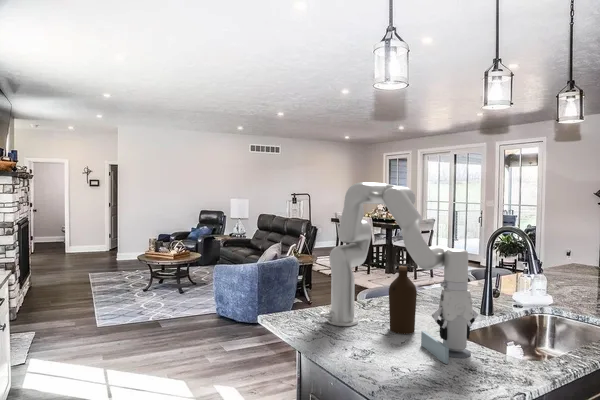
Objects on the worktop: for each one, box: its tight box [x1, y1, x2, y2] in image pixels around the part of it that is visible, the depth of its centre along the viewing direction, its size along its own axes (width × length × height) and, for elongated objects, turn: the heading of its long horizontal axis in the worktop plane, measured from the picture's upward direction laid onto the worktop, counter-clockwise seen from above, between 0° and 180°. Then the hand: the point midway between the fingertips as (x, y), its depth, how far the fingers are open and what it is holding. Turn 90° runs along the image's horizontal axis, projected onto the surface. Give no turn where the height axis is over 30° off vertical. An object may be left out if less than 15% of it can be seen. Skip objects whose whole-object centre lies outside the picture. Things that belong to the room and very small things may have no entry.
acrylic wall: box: [420, 330, 450, 364], centre depth 139 cm, size 1×16×5 cm, turn 11°
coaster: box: [449, 348, 472, 359], centre depth 141 cm, size 10×10×1 cm
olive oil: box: [388, 265, 418, 335], centre depth 163 cm, size 11×11×25 cm
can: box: [442, 315, 468, 351], centre depth 141 cm, size 8×8×12 cm
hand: (454, 337), depth 141 cm, fingers closed on can, 7 cm apart
